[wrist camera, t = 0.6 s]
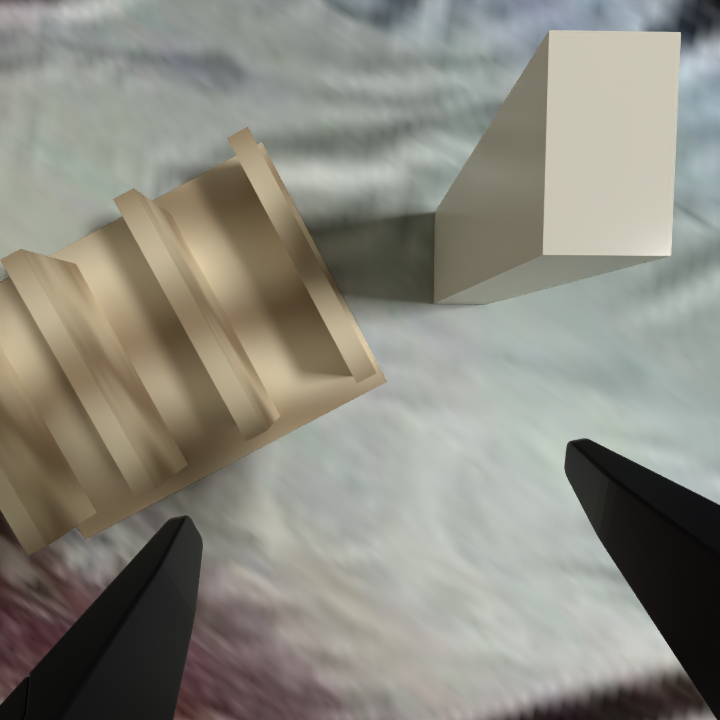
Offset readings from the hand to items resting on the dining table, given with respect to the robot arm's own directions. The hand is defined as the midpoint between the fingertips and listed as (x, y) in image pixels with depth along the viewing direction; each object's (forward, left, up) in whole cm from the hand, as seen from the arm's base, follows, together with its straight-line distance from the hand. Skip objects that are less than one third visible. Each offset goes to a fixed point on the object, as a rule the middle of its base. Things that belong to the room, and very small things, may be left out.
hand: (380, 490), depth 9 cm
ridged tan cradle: (+8, +8, -13) cm, 17 cm away
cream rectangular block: (+5, -8, -13) cm, 16 cm away
